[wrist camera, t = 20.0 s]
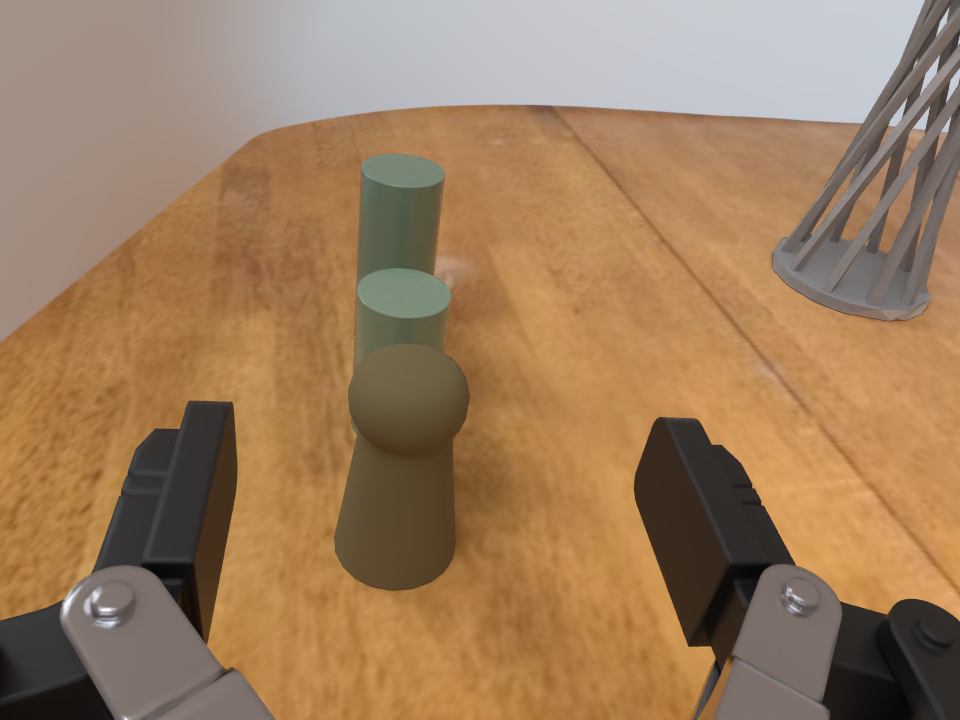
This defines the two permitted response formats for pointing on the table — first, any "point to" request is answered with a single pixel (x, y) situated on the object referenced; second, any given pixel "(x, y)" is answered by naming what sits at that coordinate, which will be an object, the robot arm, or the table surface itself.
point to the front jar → (400, 312)
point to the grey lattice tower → (886, 189)
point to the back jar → (398, 214)
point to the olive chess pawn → (402, 467)
